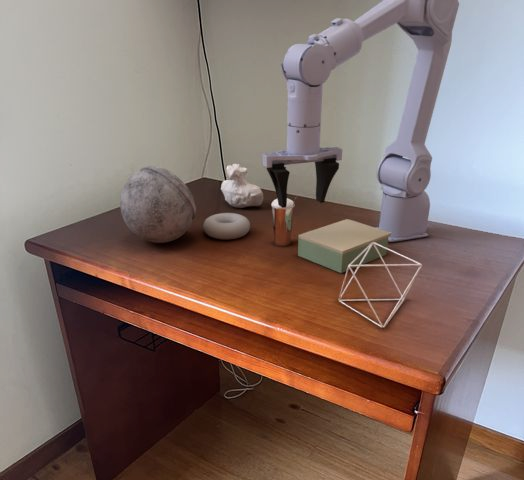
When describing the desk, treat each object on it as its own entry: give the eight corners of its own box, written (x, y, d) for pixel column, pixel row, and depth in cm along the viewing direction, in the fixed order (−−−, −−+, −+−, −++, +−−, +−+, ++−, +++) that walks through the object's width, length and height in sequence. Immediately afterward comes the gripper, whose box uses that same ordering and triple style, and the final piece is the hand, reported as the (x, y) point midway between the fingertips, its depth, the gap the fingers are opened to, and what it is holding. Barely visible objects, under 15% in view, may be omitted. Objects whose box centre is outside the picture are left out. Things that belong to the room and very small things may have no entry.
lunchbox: (343, 239, 114) (344, 222, 112) (386, 254, 106) (388, 237, 104) (297, 255, 106) (298, 238, 104) (341, 273, 99) (342, 254, 97)
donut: (197, 240, 114) (244, 243, 112) (196, 224, 112) (243, 226, 110) (211, 225, 122) (254, 227, 120) (210, 209, 120) (254, 211, 118)
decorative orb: (211, 239, 114) (207, 165, 106) (156, 260, 105) (147, 180, 97) (165, 224, 122) (158, 154, 114) (111, 241, 113) (99, 167, 105)
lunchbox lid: (347, 221, 112) (347, 218, 112) (391, 235, 105) (391, 232, 105) (298, 237, 104) (298, 234, 104) (342, 254, 97) (342, 251, 97)
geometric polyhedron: (382, 288, 94) (387, 237, 89) (428, 313, 86) (437, 259, 81) (323, 306, 88) (325, 253, 84) (367, 334, 80) (372, 277, 76)
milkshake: (290, 249, 109) (291, 199, 104) (267, 244, 111) (267, 195, 106) (300, 242, 112) (302, 193, 107) (278, 237, 115) (279, 189, 109)
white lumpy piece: (221, 210, 137) (201, 180, 128) (235, 186, 139) (216, 155, 129) (260, 219, 131) (241, 189, 122) (274, 194, 133) (257, 162, 123)
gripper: (273, 131, 88) (273, 214, 95) (353, 125, 92) (346, 205, 99) (257, 124, 93) (258, 203, 100) (333, 118, 98) (329, 194, 105)
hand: (301, 203), depth 100 cm, fingers open, 7 cm apart
